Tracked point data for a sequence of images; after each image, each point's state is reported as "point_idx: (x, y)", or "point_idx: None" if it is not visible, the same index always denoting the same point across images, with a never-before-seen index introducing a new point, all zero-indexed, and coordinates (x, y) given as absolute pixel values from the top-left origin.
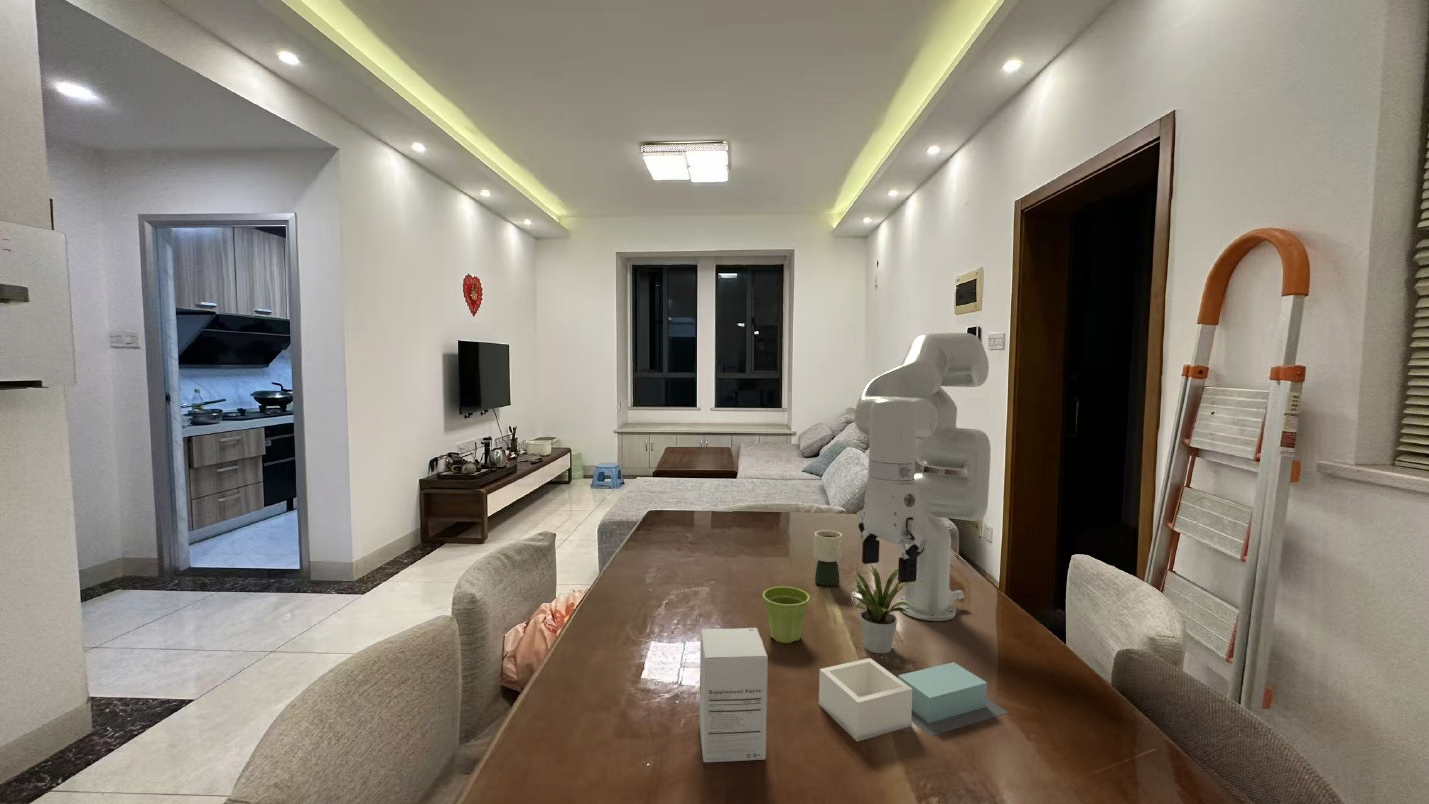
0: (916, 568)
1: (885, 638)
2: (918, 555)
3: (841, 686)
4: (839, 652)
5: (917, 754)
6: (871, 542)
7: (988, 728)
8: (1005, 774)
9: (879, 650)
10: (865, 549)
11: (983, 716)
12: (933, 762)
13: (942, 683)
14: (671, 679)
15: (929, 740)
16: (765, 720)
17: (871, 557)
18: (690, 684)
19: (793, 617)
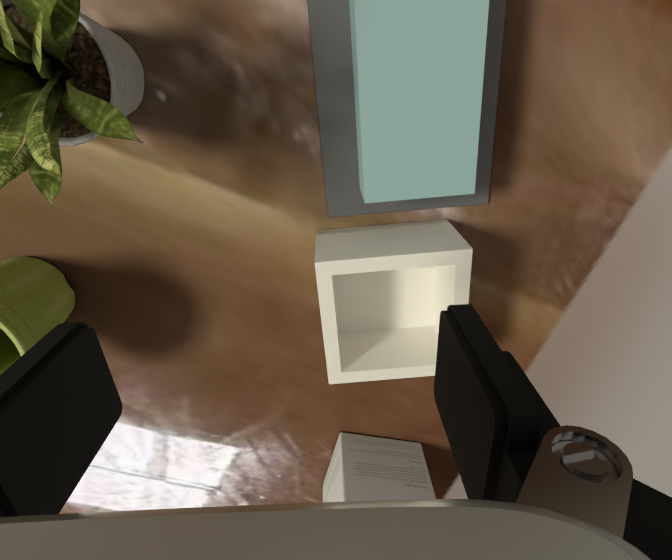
0: (498, 348)
1: (130, 80)
2: (641, 488)
3: (403, 375)
4: (126, 199)
5: (509, 255)
6: (13, 503)
7: (524, 48)
8: (629, 139)
9: (140, 94)
10: (71, 490)
11: (492, 24)
12: (537, 242)
13: (438, 112)
14: (201, 495)
15: (491, 210)
16: (434, 494)
17: (90, 399)
18: (220, 478)
19: (40, 329)
